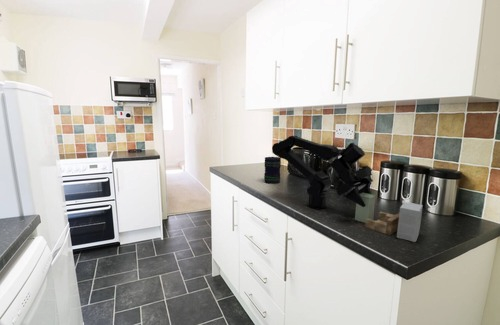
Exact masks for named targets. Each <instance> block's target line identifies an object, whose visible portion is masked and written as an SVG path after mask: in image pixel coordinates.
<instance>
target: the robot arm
mask: <svg viewBox="0 0 500 325" xmlns="http://www.w3.org/2000/svg"><path fill="white" fill-rule="evenodd" d="M294 147H298V148H301V149H303V150H306V151H309V152H311V153H314V154H315V155H316V156H317V157H319V158H320V159H322V160H324V161H327V165H326V170H330V169H333V170H334V172H335V173H336V175H337V176H338V177H337V180H339V181H341V182H343V184H342V185H340V186H339V187H338V188H336V194H337V195H338V197H343V198H346V199H347V200H350V201H352V202H353V203H355V204H356V203H357V204H359V205H360V206H362V207H365V206H366V205H365V203H364V201H363V200H362V198H361V196H360V195H359V194H361V193H367V194H372V192H371V185H372V182H374V179H372V177H371V176H372V175H373V174H372V171H373V169H372V168H371V166H369V165H364V166H362V167H361V169H358V170H356V169H355V168H351V166H350V165H354V164H355V163H357V162H358V161H359V160H360V159H361V158H363V157H364V156H366V154H365V152H364V150H363V149H362V148H361V147H360V146H358V145H357V144H355V143H354V142H351V143H349V144H348V146H346V147H345V148H344V149H340V148H338V147H337V146H335V145H331V144H323V143H317V142H314V141H311V140H308V139H305V138H303V137H301V136H298V135H290V136H288V137H287V138H285V139H283V140H281V141H278V142H275V143H274V144H272V147H271V152H272V154H274V155H275V157H279V158H281V159H284V160H285V161H287V162H288V163H289V164H290V165H291V166H292V167H293V168H294V169H295V170H297V171H298V172H299V173H300V174H301V175H303V176H304V177H305V178H306V179H307V181H308V183H309V184H308V185H310V186H309V187H308V188H307V189H306V192H307V194H308V204H306V207H310V208H312V209H316V210H321V209H324V208H327V205H326V204H327V198H326V197H327V196H326V193H327V192H328V190H329V189H330V188H331V187H332V180H331V179H330V175H328V174H326V173H325V172H324V171H323V170H321V171H315V170H314V169H313V168H312V167H311V166H309V165H308V164H307V162H305V161H303V160H302V159H301V158H300V157H299V156H298V155H296V154H295V153H294V152H293V148H294ZM331 160H332V161H331ZM328 161H329V162H328Z"/></svg>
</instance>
